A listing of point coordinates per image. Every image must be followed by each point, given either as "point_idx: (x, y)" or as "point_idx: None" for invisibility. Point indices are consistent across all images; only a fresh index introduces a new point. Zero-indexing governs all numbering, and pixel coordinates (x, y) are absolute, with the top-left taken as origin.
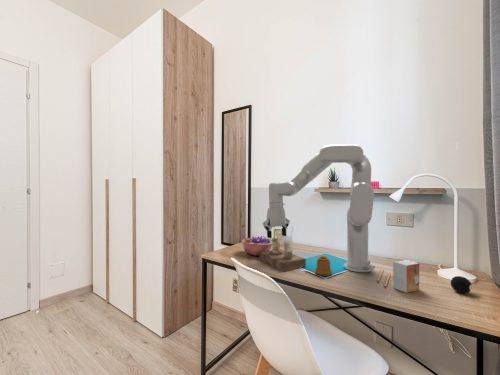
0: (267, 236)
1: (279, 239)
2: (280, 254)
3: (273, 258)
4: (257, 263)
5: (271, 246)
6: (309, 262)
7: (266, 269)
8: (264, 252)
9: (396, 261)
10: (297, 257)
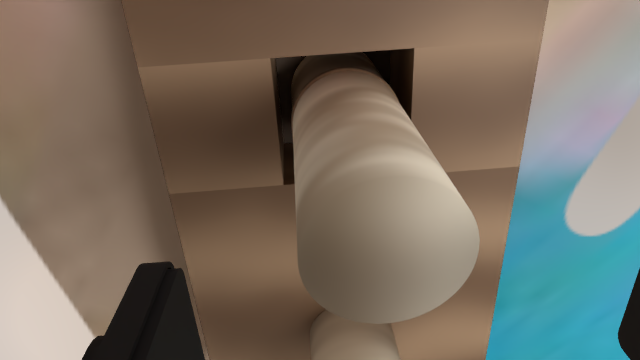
0: (135, 279)
1: (432, 298)
2: None
3: (199, 289)
4: (74, 96)
5: None
6: (579, 262)
7: (115, 276)
8: (196, 13)
9: None
10: (452, 337)
